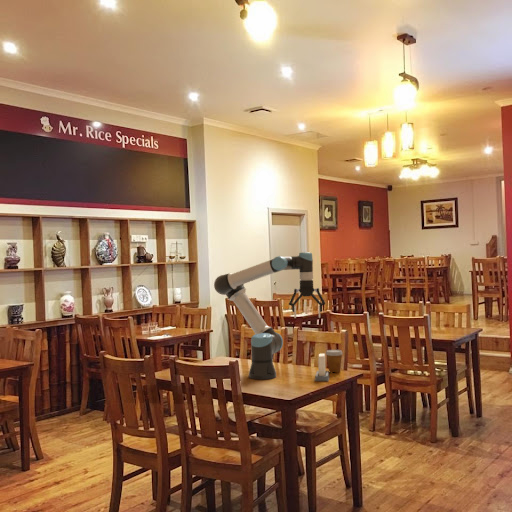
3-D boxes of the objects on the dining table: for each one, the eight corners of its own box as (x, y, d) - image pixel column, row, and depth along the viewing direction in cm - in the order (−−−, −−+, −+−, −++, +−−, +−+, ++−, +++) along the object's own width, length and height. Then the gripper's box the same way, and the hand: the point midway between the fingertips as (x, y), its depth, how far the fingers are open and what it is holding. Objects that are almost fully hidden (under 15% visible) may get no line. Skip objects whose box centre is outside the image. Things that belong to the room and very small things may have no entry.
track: (314, 381, 289) (314, 376, 289) (316, 375, 303) (316, 370, 303) (328, 381, 288) (328, 376, 288) (329, 375, 302) (329, 370, 302)
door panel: (319, 375, 300) (318, 353, 301) (325, 375, 300) (325, 353, 300) (318, 378, 292) (318, 356, 292) (324, 379, 291) (324, 356, 291)
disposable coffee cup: (342, 370, 317) (342, 349, 317) (343, 373, 307) (342, 352, 307) (325, 370, 318) (325, 349, 318) (326, 373, 308) (325, 352, 308)
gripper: (283, 280, 306) (284, 318, 306) (328, 279, 302) (329, 318, 302) (285, 280, 314) (286, 317, 313) (329, 279, 309) (330, 316, 309)
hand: (307, 317), depth 307 cm, fingers open, 13 cm apart
